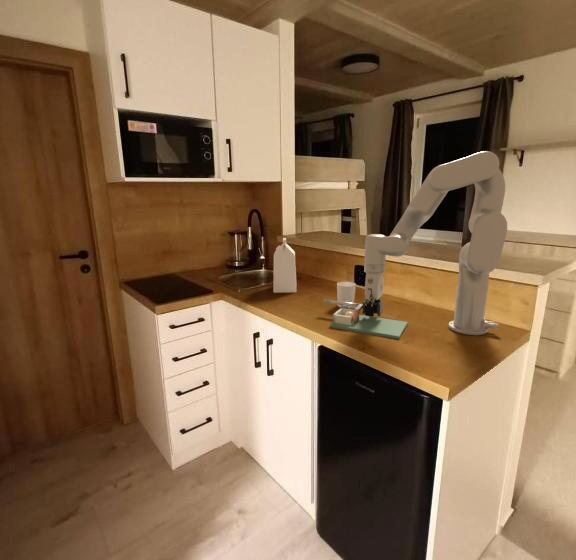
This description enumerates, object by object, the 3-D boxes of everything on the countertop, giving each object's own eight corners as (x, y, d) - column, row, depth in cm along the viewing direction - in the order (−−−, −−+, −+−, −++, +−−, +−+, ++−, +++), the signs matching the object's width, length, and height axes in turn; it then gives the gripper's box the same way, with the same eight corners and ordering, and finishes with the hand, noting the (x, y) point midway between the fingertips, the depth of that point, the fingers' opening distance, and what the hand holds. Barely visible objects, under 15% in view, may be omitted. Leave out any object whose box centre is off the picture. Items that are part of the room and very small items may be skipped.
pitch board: (407, 324, 134) (408, 313, 133) (399, 339, 121) (400, 326, 120) (343, 314, 146) (343, 304, 144) (330, 327, 133) (330, 315, 132)
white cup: (340, 309, 152) (341, 287, 149) (333, 304, 159) (334, 282, 157) (357, 308, 154) (358, 285, 151) (350, 302, 161) (350, 281, 159)
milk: (296, 292, 178) (296, 240, 172) (273, 292, 179) (272, 240, 172) (296, 286, 190) (296, 237, 184) (274, 286, 190) (273, 237, 184)
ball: (346, 309, 138) (346, 318, 139) (343, 312, 134) (343, 321, 135) (355, 311, 136) (355, 319, 137) (352, 313, 133) (352, 323, 134)
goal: (357, 317, 139) (358, 310, 138) (350, 325, 131) (350, 317, 131) (340, 315, 142) (340, 307, 141) (332, 322, 135) (332, 314, 134)
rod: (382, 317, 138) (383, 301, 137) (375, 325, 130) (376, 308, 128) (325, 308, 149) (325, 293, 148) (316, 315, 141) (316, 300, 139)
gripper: (378, 273, 124) (376, 321, 128) (390, 264, 139) (387, 307, 143) (357, 271, 127) (356, 318, 132) (370, 262, 142) (369, 304, 147)
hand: (372, 312), depth 137 cm, fingers open, 8 cm apart
